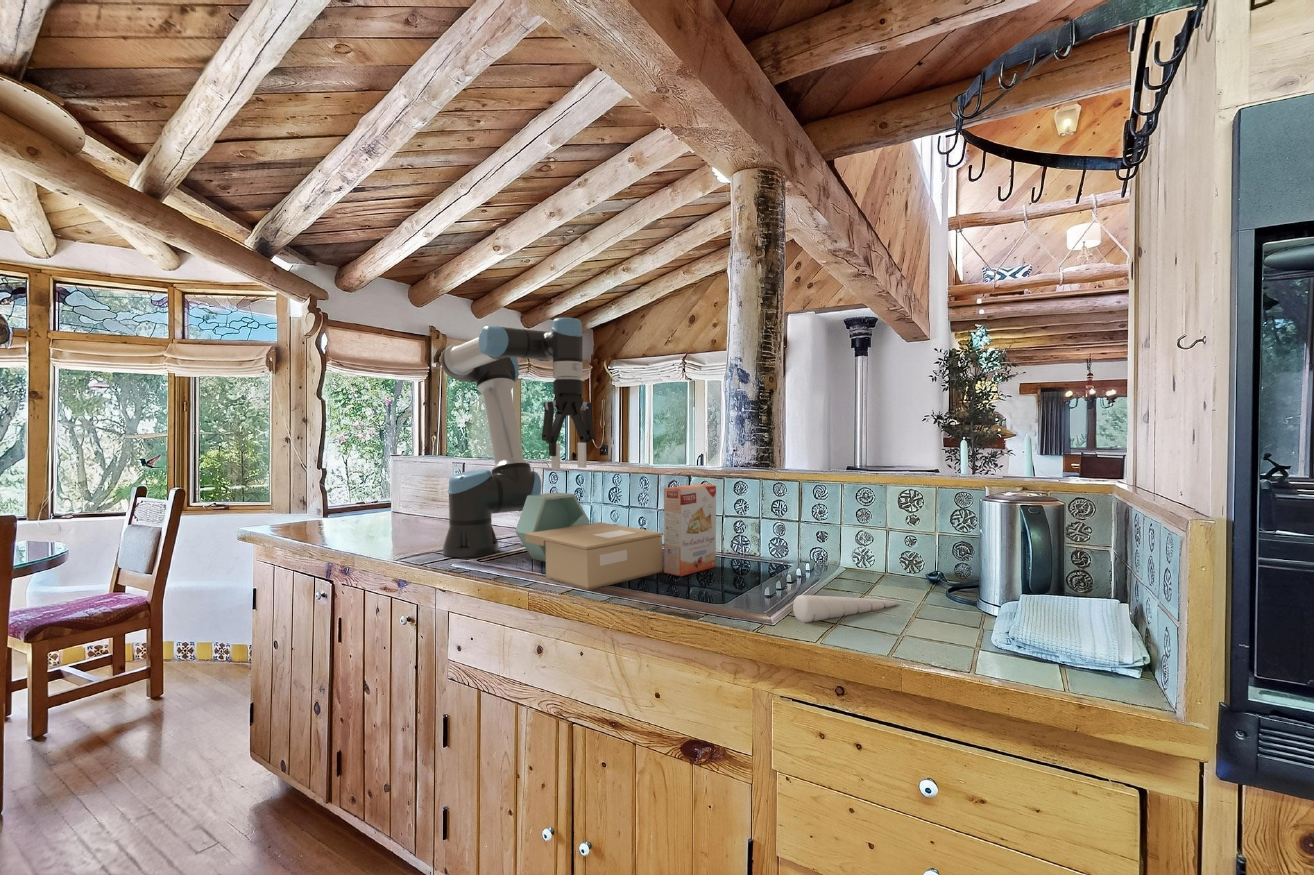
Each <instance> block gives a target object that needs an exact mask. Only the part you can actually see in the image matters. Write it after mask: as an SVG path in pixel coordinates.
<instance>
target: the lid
mask: <svg viewBox="0 0 1314 875" xmlns="http://www.w3.org/2000/svg"><path fill="white" fill-rule="evenodd" d="M657 536H662V537H663V536H664V532H661V531H656V530H655V531H654V530H648V529H643V528H637V527H632V526H631V527H630V526H625V525H619V524H612V523H606V522H601V521H599V522H592V523H589V524H585V525H578V526H572V527H565V528H559V529H552V530H545V531H539V532H532V533H525V542H529V543H533V544H537V545H542V546H546V543H545V541H550V542H554V543H559V544H563V545H568V546H572V547H577V548H581V549H586V550H587V549H593V548H598V547H603V546H609V545H614V544H619V543H625V542H630V541H635V540H641V539H646V538H651V537H657Z"/></svg>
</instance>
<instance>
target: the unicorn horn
mask: <svg viewBox="0 0 1314 875" xmlns="http://www.w3.org/2000/svg"><path fill="white" fill-rule="evenodd" d="M898 604H899V602H897V601H894V600H886V599H876V598H861V597H846V596H831V595H830V596H828V595H812V594H811V595H810V594H809V595H808V594H800V595H797V596H796V597H795V598H794V601H793V605H792V610H793V614H794V618H796V619H797V621H799V622H801V623H805V624H806V623H812V622H817V621H823V620H827V619H835V618H841V617H843V616H845V617H846V616H851V615H855V614H857V613H858V614H863V613H866V612H871V611H876V610H880V609H884V607H885V608H890V607H894V606H896V605H898Z"/></svg>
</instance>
